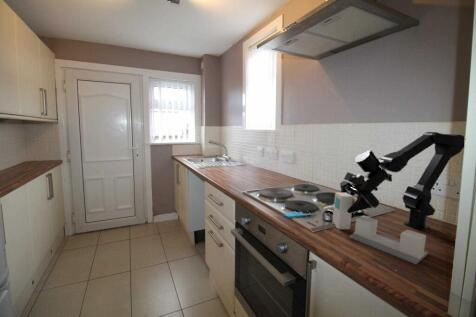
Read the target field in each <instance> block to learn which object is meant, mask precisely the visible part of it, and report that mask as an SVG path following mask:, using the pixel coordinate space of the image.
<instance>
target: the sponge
mask: <svg viewBox="0 0 476 317" xmlns="http://www.w3.org/2000/svg"><path fill="white" fill-rule="evenodd" d="M306 215H311V216H312V214H311V213H310V212H309V214H302V213H298V212H296V210H295V211H290V212H286V213H283V217H285V218H287V219H294V218H293V217H297V218H303V217H302V216H305V217H307V216H306Z"/></svg>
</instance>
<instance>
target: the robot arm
mask: <svg viewBox="0 0 476 317" xmlns="http://www.w3.org/2000/svg"><path fill="white" fill-rule="evenodd" d="M464 137H465V136H464V135H462V134H457V133H456V134H451V133H440V132H436V131H427V132H424V133H423V134H422V135H420V136H419V137H418V138H416V139H415V140H413V141H412V142H410V143H408V145H407V144H406V145H405V146H404V147H403V148H401V149H400V150H397V151H393V152H390V153H388V154H387V153H386V154H385V155H383V156H381V157H380V158H379V157H377V156H376V155H375V153H374V152H373V150H369V149H368V150H367V151H364V152H362V153H360V154H357V156H355V159H354V162H356V164H357V165H358V167H360V169H361V170H362V172H364V173H367V174H366V175H363V174H359V173H358V174H354V173H351V172H346V173H345V176H344V178H343V180H342V181H341V182H340V183H339V185H340V187H339V188H340V193H348V194H350V195H352V196H353V197H354V196H355V195H356V196H357V198H356V201H354V203H352V206H351V207H350V208H349V209H348V210H347V212H348V213H352V212H355V211H359V210H363V209H372V208H373V209H376V208H377V207H379V206H380V201H379V199H378V198H377V197H376V196H375V195H374V193H373V191H375V192H377V191H378V190H379V189H378V187H379V186H380V185H381V184H383V182H385V181H388V182H391V183H392V182H393V178H392V176H393V174H391V173H389V172H392V173H399V172H401V171H402V170H403V169H404V168H406V166H407V165H408V162H409V161H410V160H411V159H412V158H414V157H416V156H417V155H419V154H421V153H422V152H424V151H426V150H427V149H428V148H430V147H431V146H433V145H434V155H433V156H432V158H431V159H430V161H429V163H428V165H427V167H426V168H425V170H424V171H423V173H422V174H421V177H420V178H419V179H418V181H417V183H416V184H415V185H413V186H410V185H409V186H407V187H406V189H405V191H404V192H403V193H402V195H403V196H402V201H403V203H404V207H405V209H408V210H409V213H408V215H409V216H408V221H406V222H404V225H405V226H408V227H410V228H411V227H412V228H414V229H417V230H420V231H424V230H427V229H429V228H430V227H431V226H430V225H427V221H428V217H430V216H434V214H435V212H436V210H435V208H434V207H433V206H432V204H430V203H431V201H432V190H433V188H434V186H435V184H436V183H437V181H438V180H439V177H440V176H441V175H442V173H443V171H444V169H445V168H446V167H447V165H448V163H449V162H450V160H451V159H452V158H453V157H455V156H457V155H458V154H460V153H461V152H462V150H464V148H465V147H464ZM387 171H388V172H387Z"/></svg>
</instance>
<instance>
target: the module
mask: <svg viewBox="0 0 476 317" xmlns="http://www.w3.org/2000/svg"><path fill="white" fill-rule="evenodd" d="M353 202H354V195H353V196H352V195H350V194H348V193H341V192H334V203H333V205H334V213H333V214H332V223H333V222H334V224H335V225H336V226H335V227H336V228H337V229H338V230H351V224H352V223H351V221H352V215H351V213H348V212H347V210H348V209H349V208H350V207H351V206H352V205H353V204H354V203H353Z"/></svg>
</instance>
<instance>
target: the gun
mask: <svg viewBox="0 0 476 317" xmlns="http://www.w3.org/2000/svg"><path fill="white" fill-rule="evenodd" d="M333 210H334V204H333V205H327V206H324V207H323V212H324V211H333ZM363 211H364V213H366V212H367V209H363ZM355 212H356V211H355Z"/></svg>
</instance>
